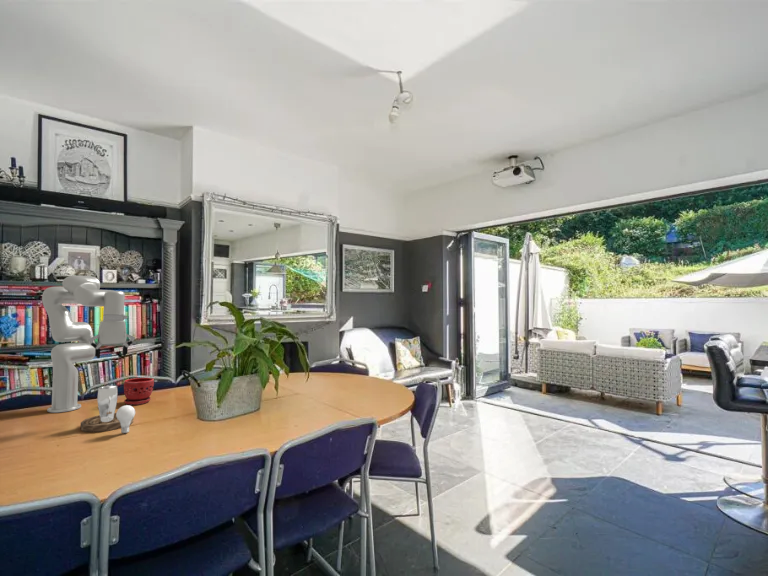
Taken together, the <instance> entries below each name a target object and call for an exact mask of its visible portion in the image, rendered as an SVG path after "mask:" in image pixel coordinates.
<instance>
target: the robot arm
mask: <svg viewBox="0 0 768 576" xmlns="http://www.w3.org/2000/svg"><path fill="white" fill-rule="evenodd" d="M61 284H62V286H51V287H47V288H46V289H45V288H44V290H43V293H42V296H41V301H42V302H41V303H42V305H43V307H44V310H45V311H46V314H47V315H48V321H49V326H50V332H51V333H50V334H51V337H52V339H53V341H55V342H58V343H61V344H57V345H55V346H54V347H52V348H51V351H50V357H51V363H52V364H51V365H52V388H51V389H52V390H51V394H52V395H51V406H50V407H48V408H47V409H46V410H47V412H48V413H51V414H52V413H56V414H57V413H64V412H65V413H66V412H71V411H75V410H78V409H81V408H82V404H81V403H78V391H79V390H78V389H79V371H78V368H77V367H76V366H75V365H74V363H81V362H88V361H92V360H93V359H94V358H95V357H96V358H97V359H100V358H101V347H102V346H103V345H116V344H117V345H119V344H120V345H123V346H122V356H123V357H127V355H128V352H129V351H128V348H129V347H130V346H131V344H133V342H134V340H135V339H136V337H135V336H133V335H130V334H128V333H127V325H126V321H125V320H126V319H128V315H125V314H124V313H125V297H126V295H125V294H126V293H125V292H124V291H120V290H113V289H100V288H101V282H100V280H99V279H98V278H97V277H95V276H91V275H69V276H67V277H65V278H64V279H63V280H62V283H61ZM62 304H63V305H62ZM64 304H65V305H66V304H67V305H68V304H70V305H72V304H73V305H74V304H76V305H77V304H80V305H82V306H84V307H103V312H102V313H103V314H102V315H103V317H102V321H100V322H99V326H98V333H97V334H96V335H94V332H93V328H92V326H91V325H90V324H89V323H88V322H85V321H73V319H72V318H73V317H72V314H71V312H70V311H69V309H68V308H67V307H65V306H64ZM127 338H128V339H129V341H127ZM95 340H97V344H96V343H95ZM65 342H66V343H65ZM68 342H70V343H68Z"/></svg>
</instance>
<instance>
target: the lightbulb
mask: <svg viewBox="0 0 768 576" xmlns="http://www.w3.org/2000/svg"><path fill="white" fill-rule="evenodd" d="M115 413H116V417H117V419H118V420H119V422H120V424H121V428H120V429H121V430H120V431H121V432H120V433H122V434H127V433H129V432H130V425H131V424H130V423H131V420H132V419H133V417H134V418H135V415H136V409H135V408H134V407H133V406H132V405H129V404H126V405H122V406H120V407H119V408H118V409H117V411H116V412H115ZM133 420H134V419H133Z"/></svg>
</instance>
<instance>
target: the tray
mask: <svg viewBox="0 0 768 576" xmlns="http://www.w3.org/2000/svg"><path fill="white" fill-rule="evenodd" d="M116 413H117V412H115V420H116V422H111V423H105V424H98V421H99V414H98V415H94V416H91V417H88V418H85V419H84V420H82V421H81V422H80V431H82V432H85V433H102V432H109V431H115V430H119V429H121V424H120V422H119V420H118V419H117V417H116ZM134 419H135V416H134V417H133V419H132V420H131V423H130V425H132V424H133V423H134Z"/></svg>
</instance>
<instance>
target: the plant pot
mask: <svg viewBox="0 0 768 576" xmlns="http://www.w3.org/2000/svg"><path fill="white" fill-rule="evenodd" d="M154 385H155V379H154V378H151V377H138V378H137V377H136V378H129V379H125V380H124V381H123V394H124V397H125V398H126V399H124V400H123V401H124V403H125V404H126V405H130V406H132V405H133V406H136V405H143V404H146V403H149V401H151V399H152V398H151V397H150V396H151V395H152V393H153V390H154Z"/></svg>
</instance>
